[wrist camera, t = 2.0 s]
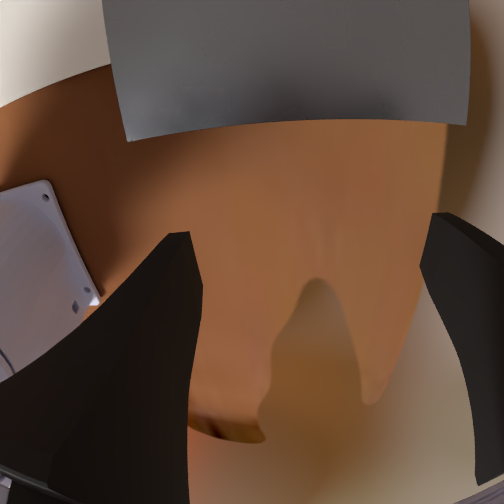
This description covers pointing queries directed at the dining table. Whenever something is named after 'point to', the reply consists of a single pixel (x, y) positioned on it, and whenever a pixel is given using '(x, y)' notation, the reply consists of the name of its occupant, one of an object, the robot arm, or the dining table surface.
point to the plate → (48, 43)
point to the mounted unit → (286, 61)
